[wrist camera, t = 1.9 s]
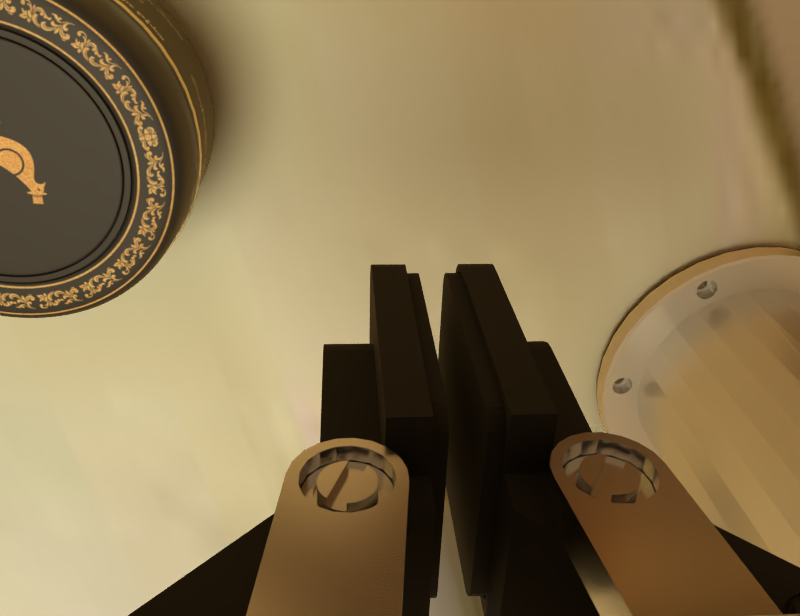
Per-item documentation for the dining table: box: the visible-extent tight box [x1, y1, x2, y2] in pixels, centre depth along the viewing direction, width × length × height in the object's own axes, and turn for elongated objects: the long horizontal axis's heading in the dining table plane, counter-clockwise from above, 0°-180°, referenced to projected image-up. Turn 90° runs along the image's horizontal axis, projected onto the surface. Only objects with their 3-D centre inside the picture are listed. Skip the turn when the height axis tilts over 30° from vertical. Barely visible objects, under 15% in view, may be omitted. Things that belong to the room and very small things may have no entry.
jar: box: [0, 0, 214, 318], centre depth 23 cm, size 10×10×8 cm
